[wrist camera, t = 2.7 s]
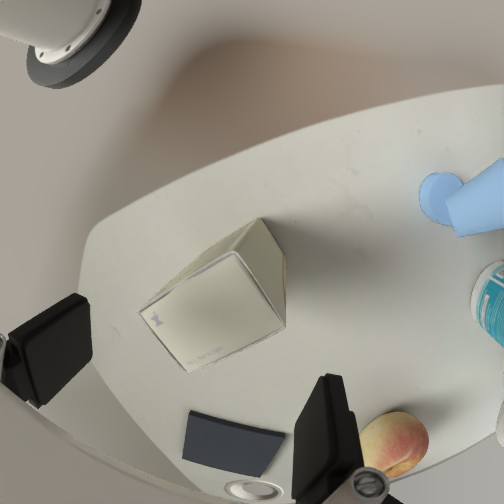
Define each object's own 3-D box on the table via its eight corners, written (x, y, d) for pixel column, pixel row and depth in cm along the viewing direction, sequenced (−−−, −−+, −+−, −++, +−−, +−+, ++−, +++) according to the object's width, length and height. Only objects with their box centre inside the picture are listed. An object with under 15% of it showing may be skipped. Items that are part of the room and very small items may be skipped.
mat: (183, 454, 33) (182, 458, 33) (190, 410, 30) (188, 414, 29) (260, 474, 33) (260, 477, 32) (285, 433, 29) (284, 438, 29)
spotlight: (457, 155, 20) (404, 187, 21) (529, 153, 10) (471, 196, 11) (475, 203, 20) (424, 237, 22) (545, 221, 11) (490, 271, 12)
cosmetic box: (228, 292, 25) (184, 378, 14) (200, 251, 25) (131, 312, 13) (289, 257, 24) (290, 332, 12) (260, 212, 23) (234, 248, 11)
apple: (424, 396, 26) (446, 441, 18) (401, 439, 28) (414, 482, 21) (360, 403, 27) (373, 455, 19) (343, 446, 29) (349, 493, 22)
